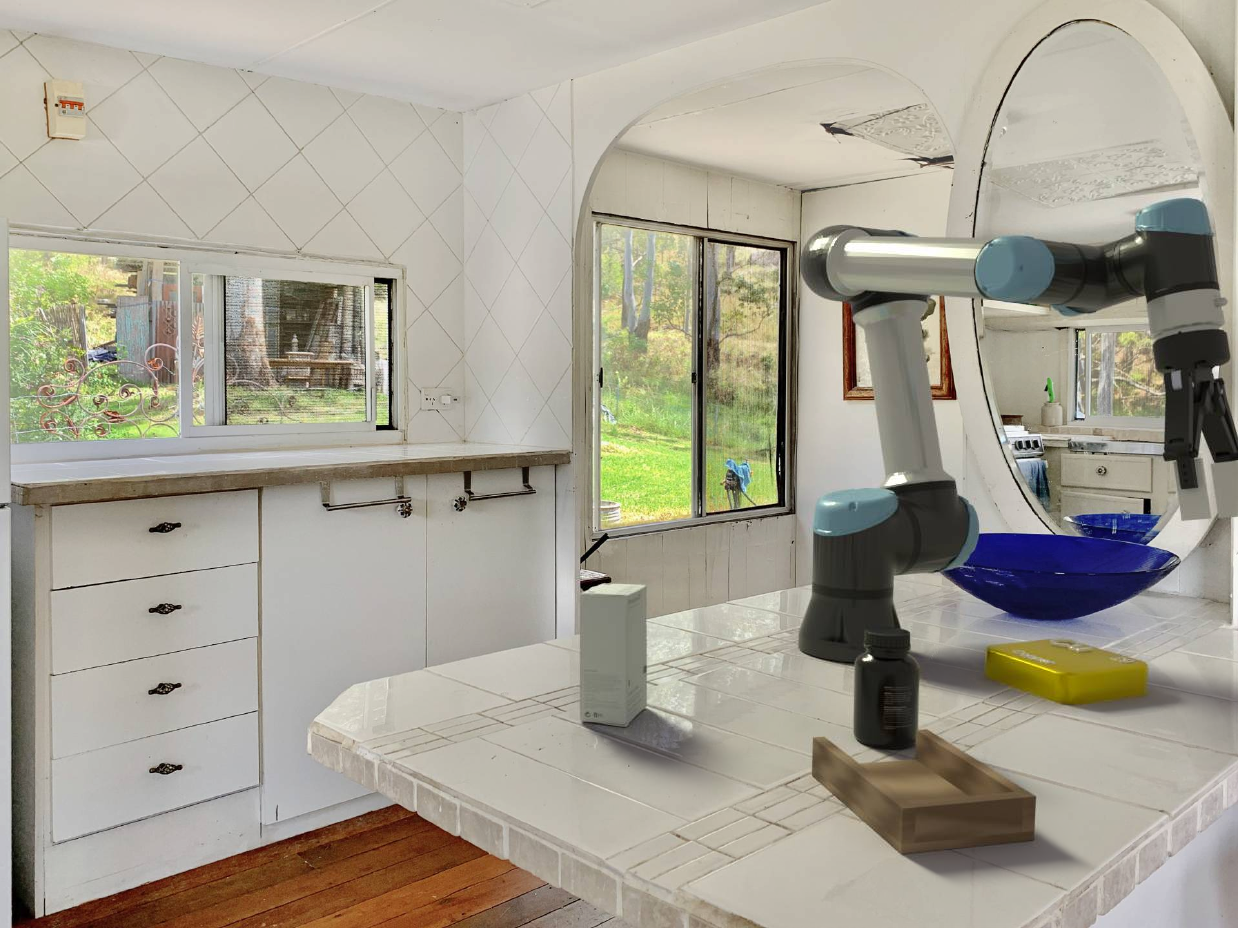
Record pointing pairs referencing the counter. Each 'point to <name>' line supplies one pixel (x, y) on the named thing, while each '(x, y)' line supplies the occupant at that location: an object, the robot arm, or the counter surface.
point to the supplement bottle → (886, 690)
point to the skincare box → (613, 653)
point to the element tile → (1066, 671)
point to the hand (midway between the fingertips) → (1215, 518)
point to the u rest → (928, 796)
